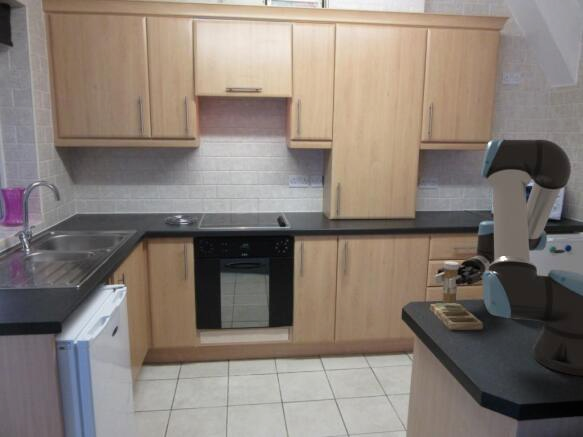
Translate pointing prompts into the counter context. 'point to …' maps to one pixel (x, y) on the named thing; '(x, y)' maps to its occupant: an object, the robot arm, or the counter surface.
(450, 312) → the slotted wooden board
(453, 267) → the sprinkles bottle
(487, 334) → the counter surface
